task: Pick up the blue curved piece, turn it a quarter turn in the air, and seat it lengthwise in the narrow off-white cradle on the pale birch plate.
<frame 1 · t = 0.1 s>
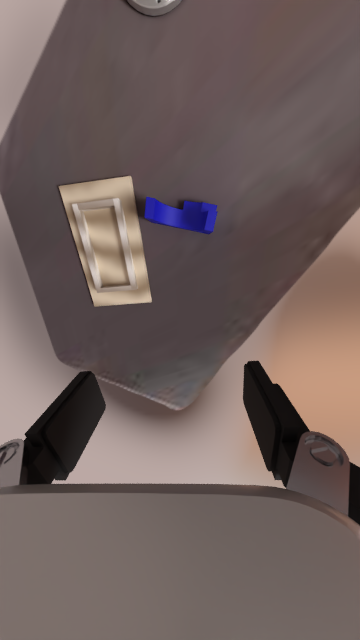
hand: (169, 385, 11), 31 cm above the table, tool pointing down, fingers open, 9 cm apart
blue curved piece: (182, 216, 34), on the table
clip cradle: (111, 250, 37), on the table
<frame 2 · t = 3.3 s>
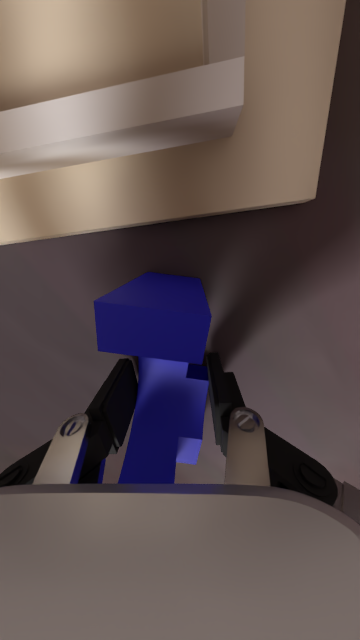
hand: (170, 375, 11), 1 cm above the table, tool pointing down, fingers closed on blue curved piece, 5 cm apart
blue curved piece: (176, 360, 12), on the table, touching gripper
clip cradle: (4, 36, 7), on the table
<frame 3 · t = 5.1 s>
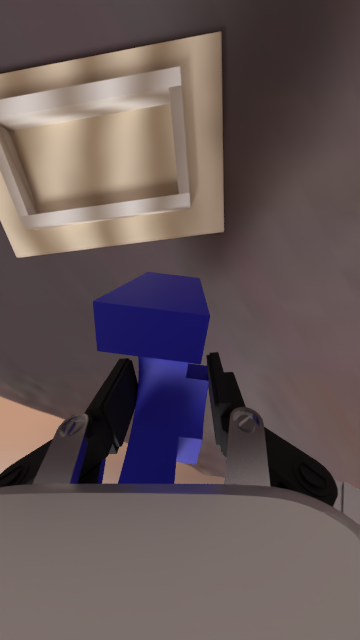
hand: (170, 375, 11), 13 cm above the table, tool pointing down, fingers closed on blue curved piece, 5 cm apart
blue curved piece: (176, 360, 12), point 11 cm above the table, touching gripper
clip cradle: (102, 170, 17), on the table
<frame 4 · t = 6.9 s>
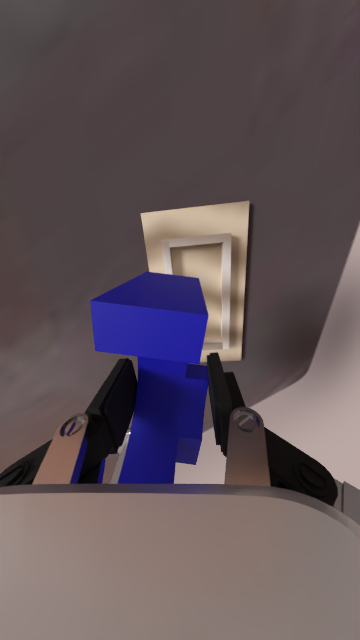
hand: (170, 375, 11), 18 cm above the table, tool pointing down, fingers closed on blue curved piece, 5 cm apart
blue curved piece: (175, 360, 12), point 16 cm above the table, touching gripper
clip cradle: (198, 296, 27), on the table
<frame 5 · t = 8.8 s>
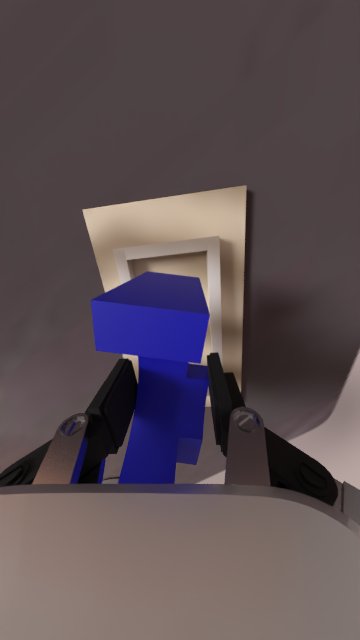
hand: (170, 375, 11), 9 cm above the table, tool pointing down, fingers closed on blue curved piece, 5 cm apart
blue curved piece: (176, 360, 12), point 8 cm above the table, touching gripper
clip cradle: (178, 324, 20), on the table
when the fingers open (3 cm above the table, at t = 10.2 s): blue curved piece drops 2 cm, resting on clip cradle.
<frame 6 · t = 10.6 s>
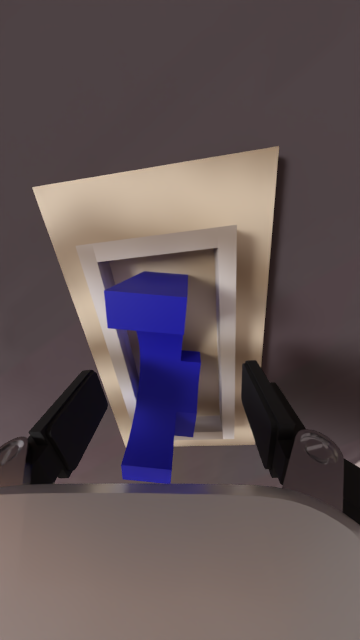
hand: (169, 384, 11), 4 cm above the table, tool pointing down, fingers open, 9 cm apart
blue curved piece: (172, 347, 14), point 1 cm above the table, touching clip cradle
clip cradle: (175, 346, 15), on the table
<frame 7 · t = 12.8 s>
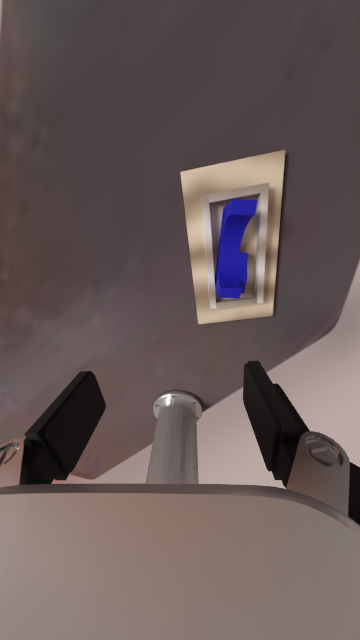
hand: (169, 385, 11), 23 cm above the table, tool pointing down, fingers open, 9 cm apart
blue curved piece: (231, 252, 28), point 1 cm above the table, touching clip cradle
clip cradle: (232, 254, 29), on the table
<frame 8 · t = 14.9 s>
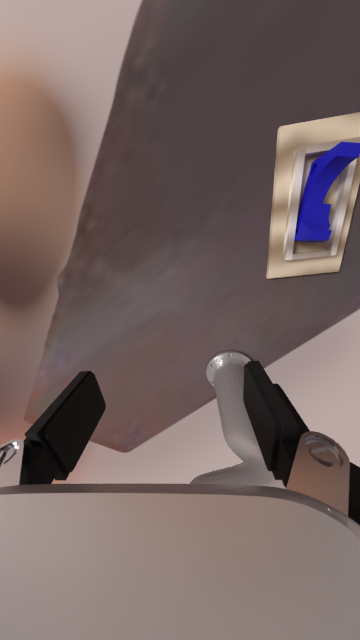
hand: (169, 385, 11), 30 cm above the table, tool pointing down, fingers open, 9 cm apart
blue curved piece: (311, 205, 31), point 1 cm above the table, touching clip cradle
clip cradle: (310, 208, 32), on the table
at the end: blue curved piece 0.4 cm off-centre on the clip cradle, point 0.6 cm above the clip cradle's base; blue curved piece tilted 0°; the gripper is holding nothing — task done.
